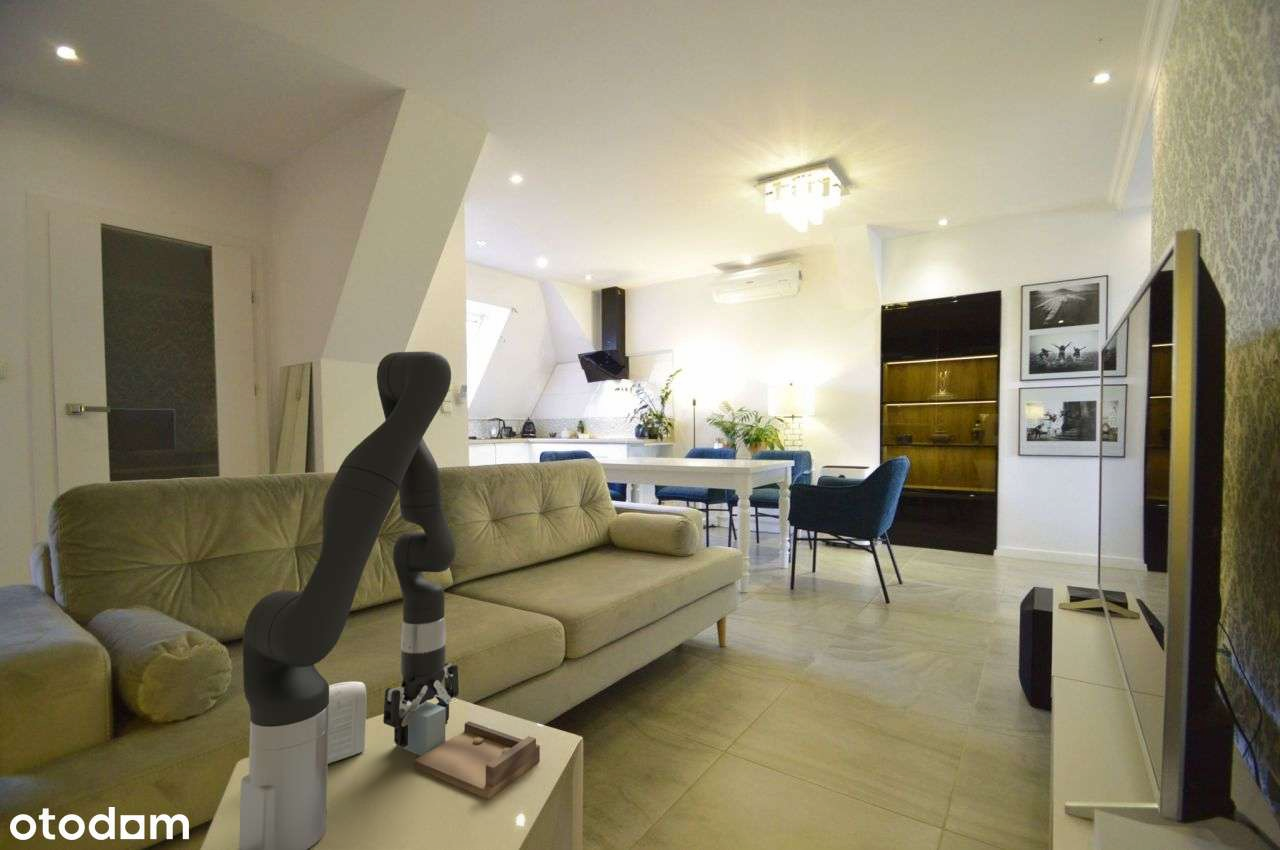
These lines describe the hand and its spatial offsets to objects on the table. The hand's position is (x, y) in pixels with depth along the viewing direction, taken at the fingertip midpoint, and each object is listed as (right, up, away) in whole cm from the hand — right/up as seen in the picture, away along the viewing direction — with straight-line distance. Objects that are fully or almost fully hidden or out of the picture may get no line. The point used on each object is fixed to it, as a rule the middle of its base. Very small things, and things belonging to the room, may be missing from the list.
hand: (422, 734), depth 100 cm
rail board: (+11, -2, -6) cm, 13 cm away
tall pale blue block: (0, -2, 0) cm, 2 cm away
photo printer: (-14, -2, -4) cm, 15 cm away
